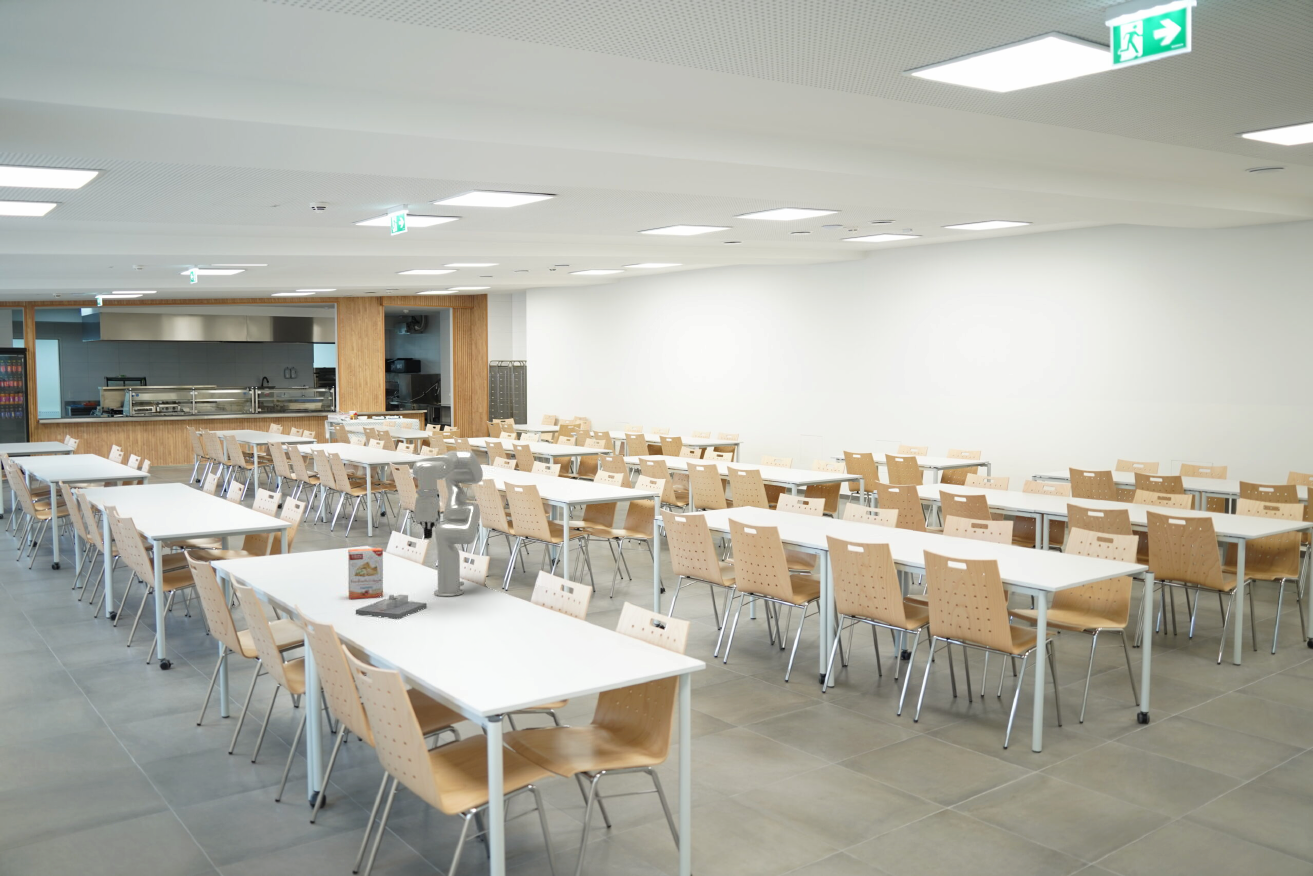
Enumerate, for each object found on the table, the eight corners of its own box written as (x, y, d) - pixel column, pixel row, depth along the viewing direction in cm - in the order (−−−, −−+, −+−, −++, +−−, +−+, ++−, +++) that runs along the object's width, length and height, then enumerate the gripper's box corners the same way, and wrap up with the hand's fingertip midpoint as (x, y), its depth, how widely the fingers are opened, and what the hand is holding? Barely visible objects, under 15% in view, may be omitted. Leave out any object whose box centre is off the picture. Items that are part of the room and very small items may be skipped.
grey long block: (376, 610, 392) (376, 602, 392) (398, 601, 408) (398, 594, 408) (387, 611, 391) (387, 603, 391) (409, 602, 406) (409, 595, 406)
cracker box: (349, 599, 419) (348, 551, 418) (348, 596, 424) (347, 548, 423) (383, 597, 424) (383, 549, 423) (381, 594, 430) (381, 547, 428)
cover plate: (384, 603, 412) (384, 588, 411) (426, 607, 405) (426, 592, 405) (355, 614, 393) (355, 598, 393) (398, 619, 387) (398, 602, 386)
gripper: (406, 493, 401) (407, 538, 402) (438, 495, 396) (439, 540, 397) (416, 491, 408) (417, 535, 409) (448, 493, 403) (448, 537, 404)
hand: (428, 538), depth 403 cm, fingers closed
